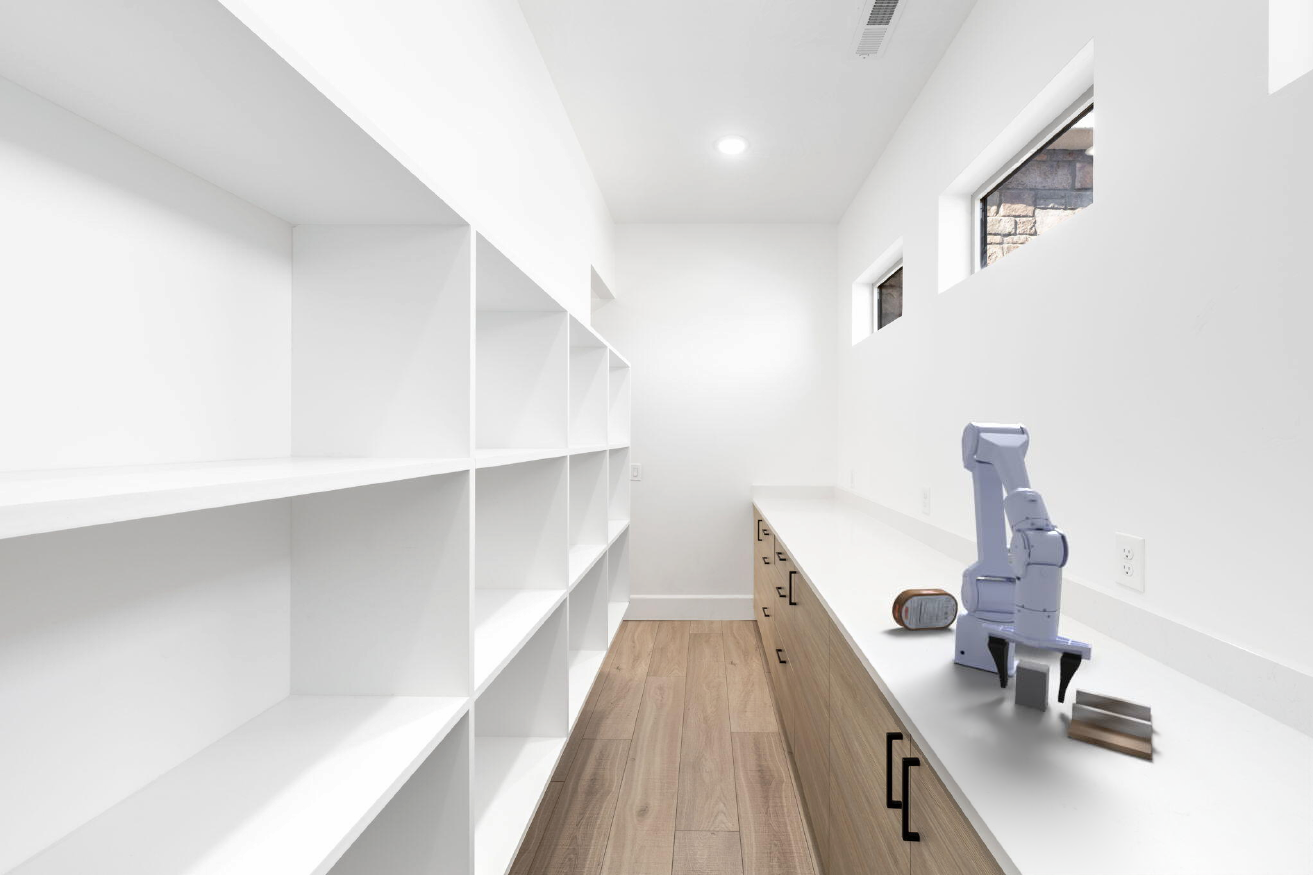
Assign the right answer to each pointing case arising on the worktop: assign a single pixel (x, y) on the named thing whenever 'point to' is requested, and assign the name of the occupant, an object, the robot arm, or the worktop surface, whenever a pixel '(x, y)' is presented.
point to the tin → (924, 609)
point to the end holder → (1111, 723)
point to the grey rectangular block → (1032, 685)
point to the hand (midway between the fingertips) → (1031, 693)
